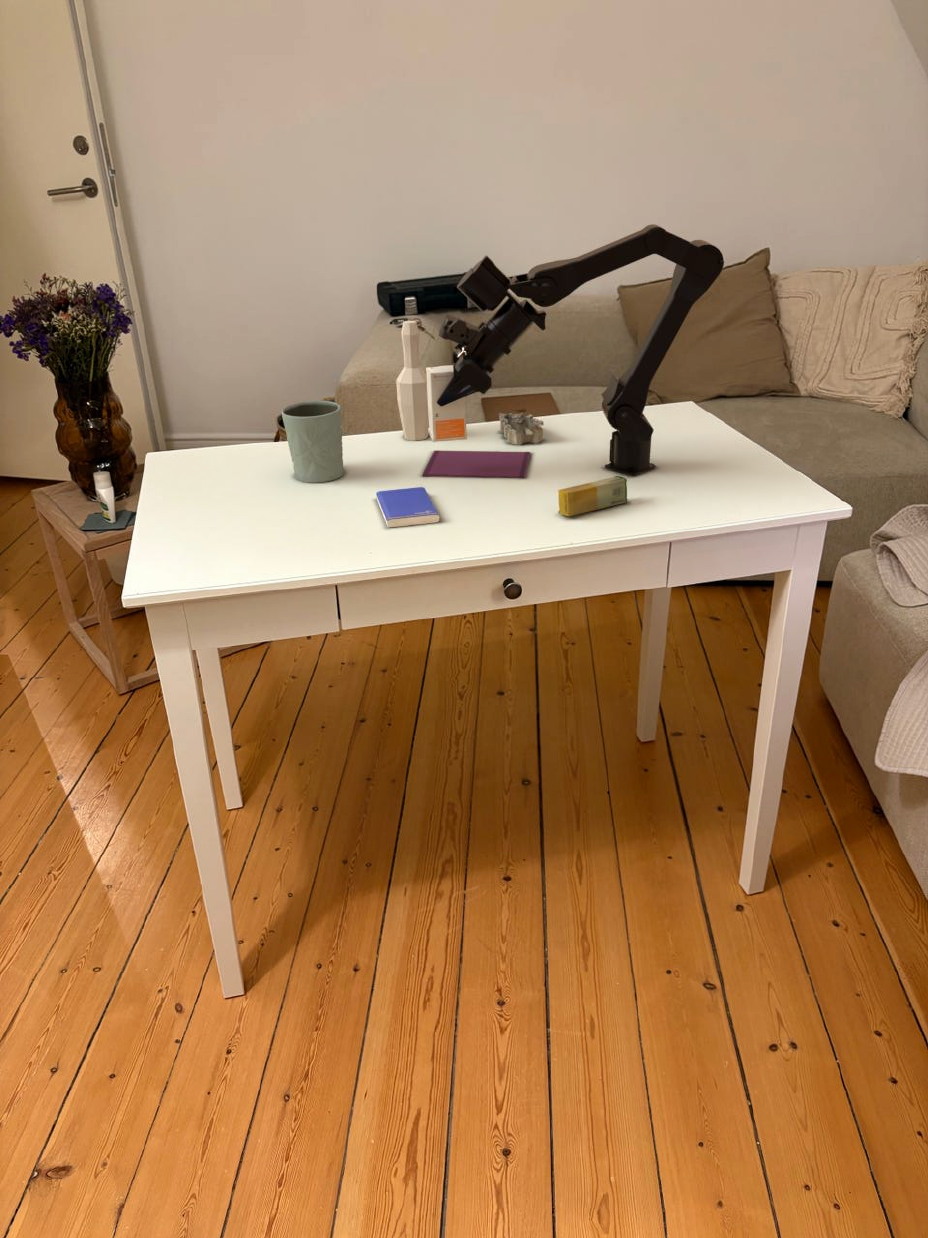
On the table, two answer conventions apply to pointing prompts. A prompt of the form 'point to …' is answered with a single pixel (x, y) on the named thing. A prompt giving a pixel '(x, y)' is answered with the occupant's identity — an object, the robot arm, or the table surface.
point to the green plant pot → (315, 440)
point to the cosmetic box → (444, 407)
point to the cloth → (477, 464)
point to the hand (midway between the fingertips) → (438, 400)
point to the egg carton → (521, 428)
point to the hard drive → (407, 507)
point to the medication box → (592, 496)
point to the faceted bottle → (412, 387)
